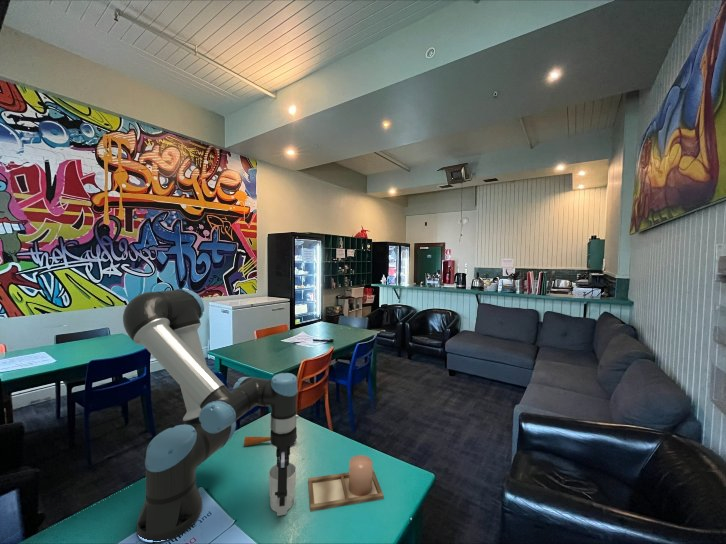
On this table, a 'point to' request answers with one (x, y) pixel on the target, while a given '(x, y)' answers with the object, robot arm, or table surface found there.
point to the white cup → (274, 485)
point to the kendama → (256, 440)
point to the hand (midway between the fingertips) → (282, 502)
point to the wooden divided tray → (338, 492)
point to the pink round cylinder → (360, 475)
